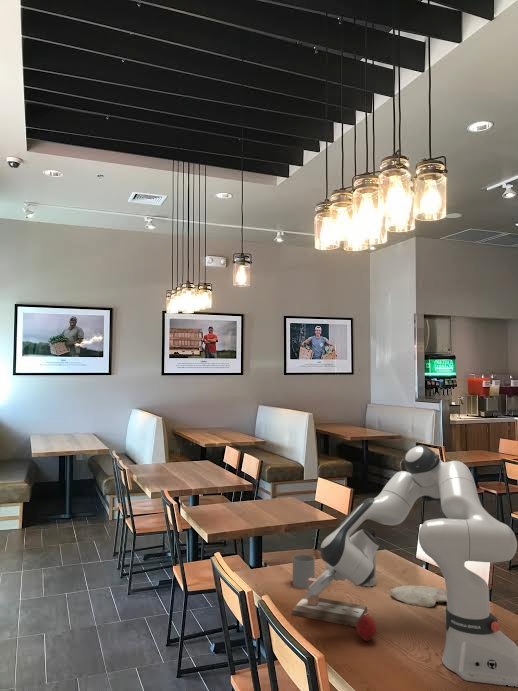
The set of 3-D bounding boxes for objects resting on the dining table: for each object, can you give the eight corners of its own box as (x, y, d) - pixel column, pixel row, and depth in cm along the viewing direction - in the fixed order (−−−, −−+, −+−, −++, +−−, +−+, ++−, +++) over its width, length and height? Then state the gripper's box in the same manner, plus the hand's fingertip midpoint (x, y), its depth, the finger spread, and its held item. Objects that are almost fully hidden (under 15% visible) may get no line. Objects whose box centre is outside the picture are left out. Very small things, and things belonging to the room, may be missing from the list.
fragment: (456, 609, 190) (455, 595, 189) (398, 615, 189) (397, 601, 189) (441, 588, 204) (440, 575, 204) (388, 594, 204) (386, 581, 204)
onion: (372, 647, 161) (372, 618, 161) (353, 642, 164) (353, 614, 164) (379, 639, 166) (378, 612, 166) (361, 634, 169) (360, 607, 169)
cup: (313, 589, 206) (313, 562, 207) (291, 587, 208) (291, 560, 209) (315, 581, 214) (315, 555, 215) (294, 580, 216) (294, 554, 217)
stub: (318, 603, 188) (318, 579, 189) (316, 605, 186) (316, 581, 187) (310, 601, 189) (310, 577, 190) (307, 604, 187) (307, 579, 188)
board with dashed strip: (367, 610, 187) (367, 605, 187) (356, 627, 174) (356, 621, 174) (306, 599, 196) (306, 594, 196) (292, 614, 183) (292, 609, 183)
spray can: (378, 583, 213) (377, 530, 215) (372, 588, 207) (371, 534, 209) (362, 579, 217) (361, 528, 218) (355, 585, 211) (355, 531, 212)
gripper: (336, 584, 174) (307, 610, 178) (353, 565, 193) (326, 589, 196) (323, 567, 177) (294, 594, 180) (340, 550, 195) (314, 574, 198)
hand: (311, 591), depth 188 cm, fingers open, 6 cm apart
